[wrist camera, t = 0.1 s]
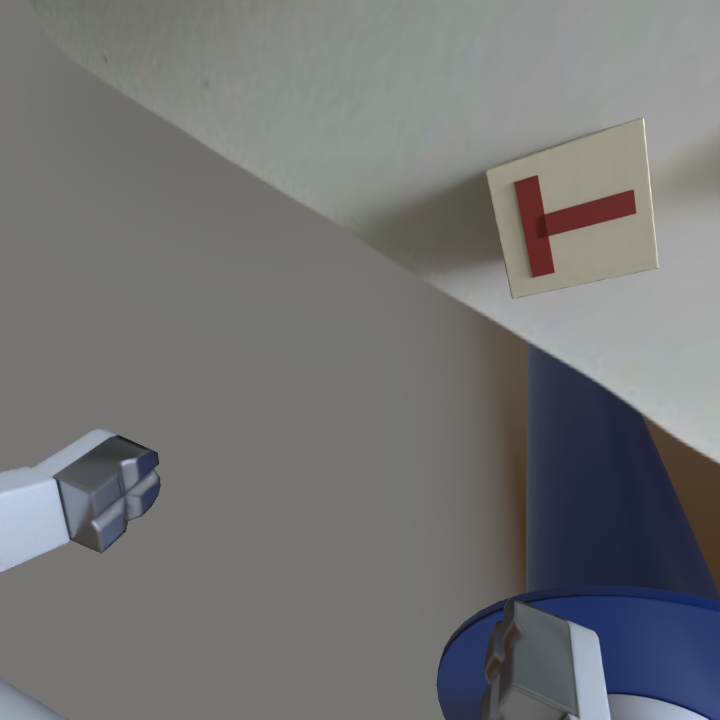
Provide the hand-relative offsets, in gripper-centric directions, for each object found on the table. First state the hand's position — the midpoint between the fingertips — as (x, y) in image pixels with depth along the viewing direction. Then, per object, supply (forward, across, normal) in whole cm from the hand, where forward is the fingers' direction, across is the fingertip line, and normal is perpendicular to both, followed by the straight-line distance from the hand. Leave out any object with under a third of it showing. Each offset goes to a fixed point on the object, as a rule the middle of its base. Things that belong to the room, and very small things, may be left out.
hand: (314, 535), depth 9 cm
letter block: (+20, +4, +6) cm, 21 cm away
